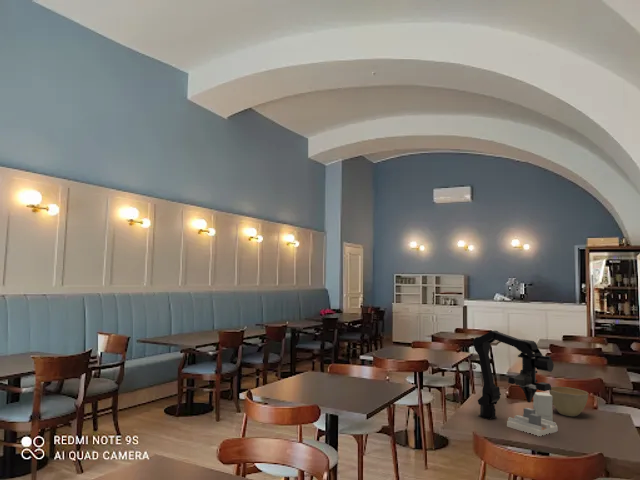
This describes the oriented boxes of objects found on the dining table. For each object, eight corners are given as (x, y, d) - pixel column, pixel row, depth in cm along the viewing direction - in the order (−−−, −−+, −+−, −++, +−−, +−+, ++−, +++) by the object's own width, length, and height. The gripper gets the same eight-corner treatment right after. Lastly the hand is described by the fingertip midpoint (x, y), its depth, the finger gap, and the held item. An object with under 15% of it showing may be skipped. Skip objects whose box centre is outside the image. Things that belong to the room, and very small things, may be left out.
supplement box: (552, 422, 231) (552, 396, 232) (536, 421, 232) (536, 394, 233) (548, 418, 238) (548, 392, 239) (533, 416, 239) (533, 391, 240)
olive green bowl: (588, 421, 234) (588, 396, 235) (547, 415, 243) (547, 391, 244) (588, 413, 250) (588, 389, 251) (550, 407, 259) (550, 384, 260)
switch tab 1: (523, 418, 225) (523, 408, 226) (527, 417, 227) (527, 407, 227) (531, 421, 222) (531, 410, 222) (535, 420, 224) (535, 409, 224)
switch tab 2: (528, 425, 216) (528, 414, 216) (532, 424, 217) (532, 413, 218) (536, 427, 212) (536, 416, 213) (540, 426, 214) (540, 415, 214)
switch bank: (506, 426, 222) (506, 417, 222) (525, 421, 230) (525, 413, 231) (539, 436, 209) (539, 427, 209) (557, 431, 217) (557, 422, 217)
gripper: (500, 366, 225) (500, 399, 223) (537, 373, 209) (537, 409, 208) (515, 364, 231) (515, 397, 229) (551, 371, 215) (552, 406, 214)
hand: (529, 402), depth 220 cm, fingers closed
